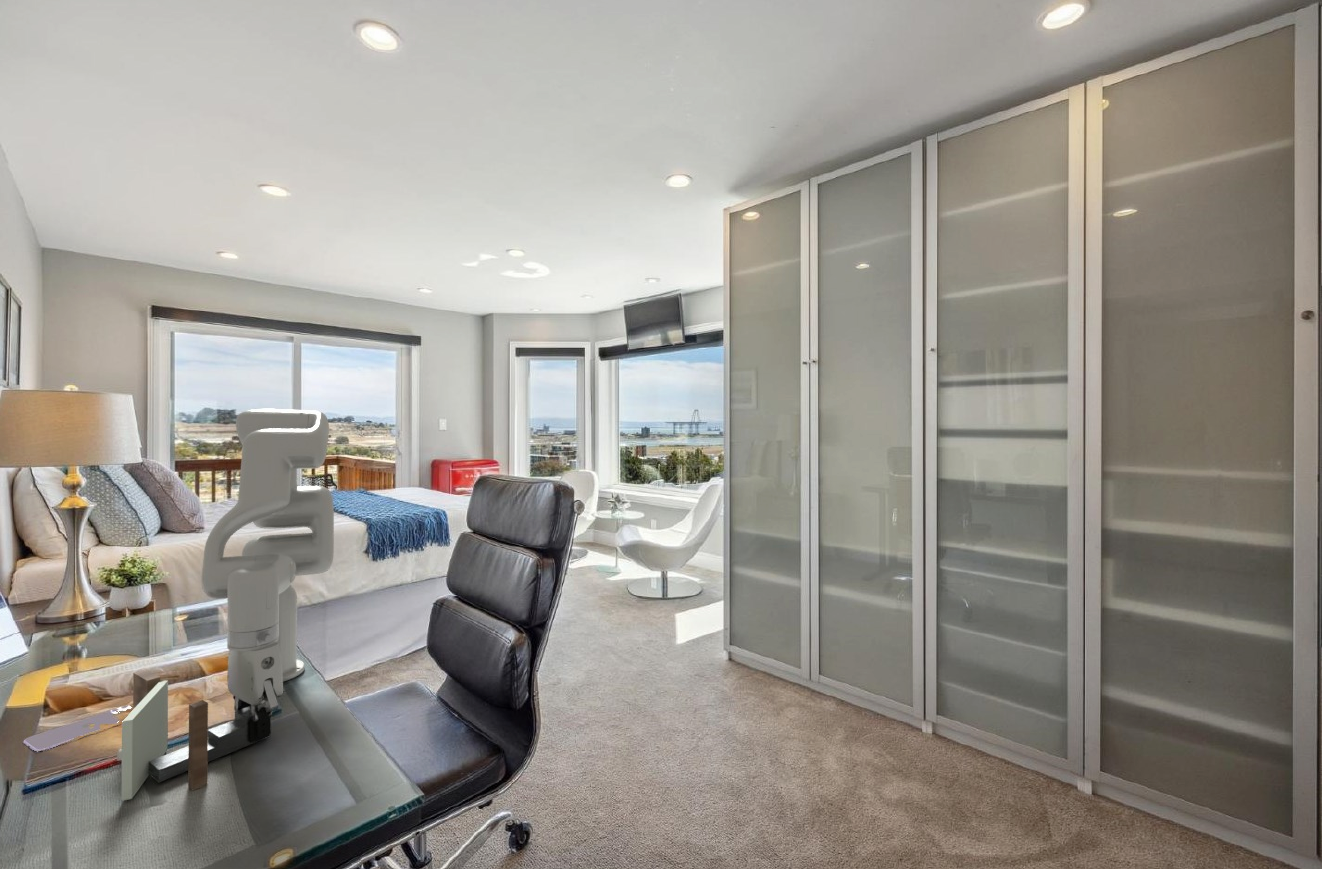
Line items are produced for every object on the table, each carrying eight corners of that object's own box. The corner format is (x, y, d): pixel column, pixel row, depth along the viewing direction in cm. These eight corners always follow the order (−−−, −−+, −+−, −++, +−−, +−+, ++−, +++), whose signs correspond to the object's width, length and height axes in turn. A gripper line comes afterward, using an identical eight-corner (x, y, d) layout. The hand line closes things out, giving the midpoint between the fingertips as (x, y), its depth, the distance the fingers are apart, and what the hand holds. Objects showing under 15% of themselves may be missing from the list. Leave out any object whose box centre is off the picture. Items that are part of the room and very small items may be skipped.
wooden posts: (132, 746, 101) (133, 672, 101) (145, 741, 103) (146, 669, 102) (193, 790, 90) (194, 707, 89) (207, 784, 91) (207, 702, 91)
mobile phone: (21, 737, 102) (129, 702, 115) (21, 743, 102) (129, 707, 115) (37, 750, 98) (147, 712, 112) (37, 755, 98) (147, 717, 112)
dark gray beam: (259, 729, 106) (259, 702, 106) (270, 735, 104) (270, 708, 104) (148, 773, 92) (149, 742, 92) (159, 782, 90) (159, 751, 90)
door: (153, 749, 100) (153, 680, 99) (169, 746, 100) (169, 678, 100) (112, 802, 86) (113, 722, 86) (131, 798, 87) (132, 719, 86)
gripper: (301, 638, 102) (300, 739, 103) (252, 618, 110) (251, 712, 111) (254, 653, 95) (254, 761, 96) (206, 631, 104) (205, 730, 104)
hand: (252, 733), depth 103 cm, fingers closed on dark gray beam, 4 cm apart
